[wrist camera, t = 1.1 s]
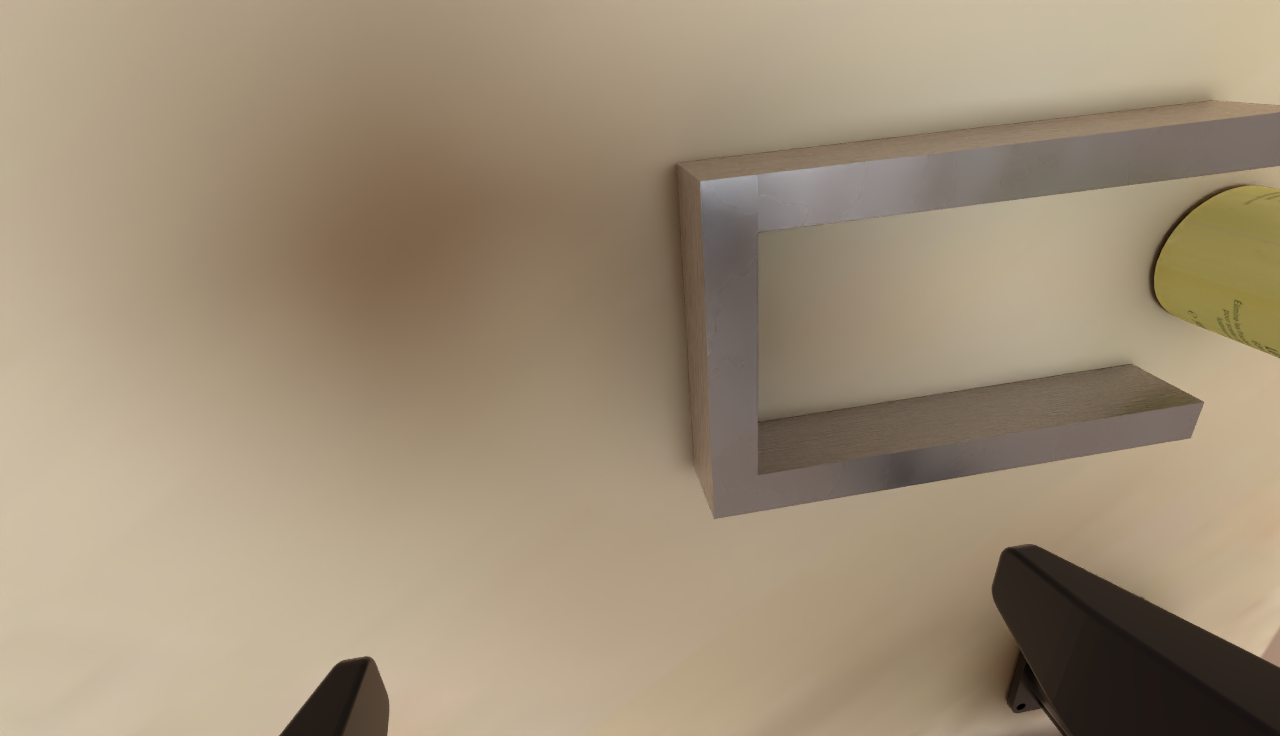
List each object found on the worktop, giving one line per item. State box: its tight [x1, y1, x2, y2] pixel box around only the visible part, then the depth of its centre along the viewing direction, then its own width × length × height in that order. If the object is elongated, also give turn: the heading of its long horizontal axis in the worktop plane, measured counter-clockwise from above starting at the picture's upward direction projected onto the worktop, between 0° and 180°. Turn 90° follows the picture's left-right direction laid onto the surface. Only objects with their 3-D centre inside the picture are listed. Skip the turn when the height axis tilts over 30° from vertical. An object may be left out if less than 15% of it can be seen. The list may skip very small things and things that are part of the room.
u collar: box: [677, 101, 1280, 519], centre depth 20 cm, size 11×18×3 cm, turn 95°
